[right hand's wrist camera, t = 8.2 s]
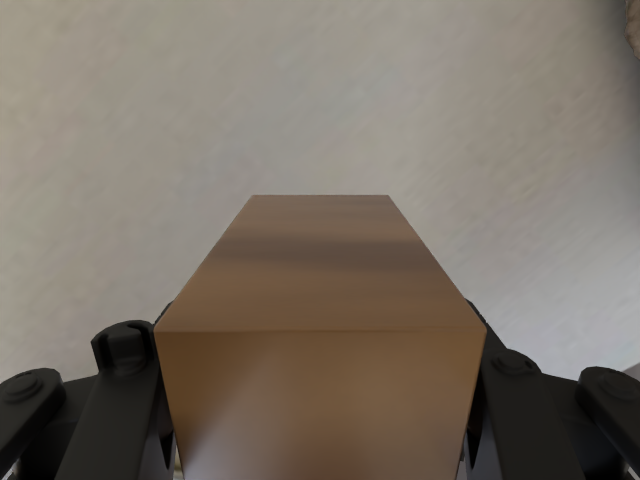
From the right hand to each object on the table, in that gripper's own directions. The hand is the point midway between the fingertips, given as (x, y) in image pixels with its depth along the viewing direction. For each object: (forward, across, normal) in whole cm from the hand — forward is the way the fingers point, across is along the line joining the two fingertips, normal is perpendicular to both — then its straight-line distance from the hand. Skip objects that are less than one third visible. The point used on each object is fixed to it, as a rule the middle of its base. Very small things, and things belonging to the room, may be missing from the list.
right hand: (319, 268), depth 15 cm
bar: (+1, 0, -11) cm, 11 cm away
